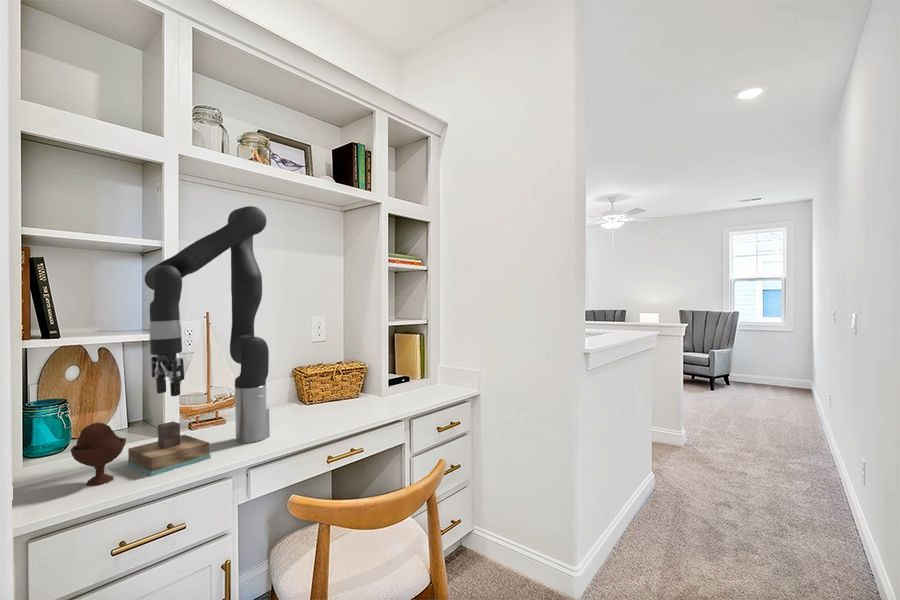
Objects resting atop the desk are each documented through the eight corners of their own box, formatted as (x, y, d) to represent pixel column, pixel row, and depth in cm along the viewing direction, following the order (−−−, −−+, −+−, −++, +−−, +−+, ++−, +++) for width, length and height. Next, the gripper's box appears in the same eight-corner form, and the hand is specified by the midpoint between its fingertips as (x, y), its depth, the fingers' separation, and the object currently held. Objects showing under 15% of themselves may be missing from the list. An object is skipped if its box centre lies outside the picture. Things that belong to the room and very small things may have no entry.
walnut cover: (184, 446, 134) (183, 415, 134) (209, 454, 126) (208, 421, 126) (128, 461, 122) (127, 426, 122) (151, 471, 114) (151, 435, 114)
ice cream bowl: (132, 479, 111) (131, 420, 111) (75, 494, 103) (73, 430, 103) (122, 469, 118) (120, 413, 118) (67, 483, 110) (66, 423, 110)
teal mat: (185, 449, 134) (185, 445, 134) (210, 458, 126) (210, 454, 126) (127, 464, 122) (127, 461, 122) (151, 476, 113) (151, 472, 113)
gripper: (192, 336, 123) (194, 394, 123) (168, 334, 131) (171, 389, 131) (162, 339, 116) (165, 400, 117) (139, 337, 124) (142, 394, 125)
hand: (168, 394), depth 124 cm, fingers open, 8 cm apart
